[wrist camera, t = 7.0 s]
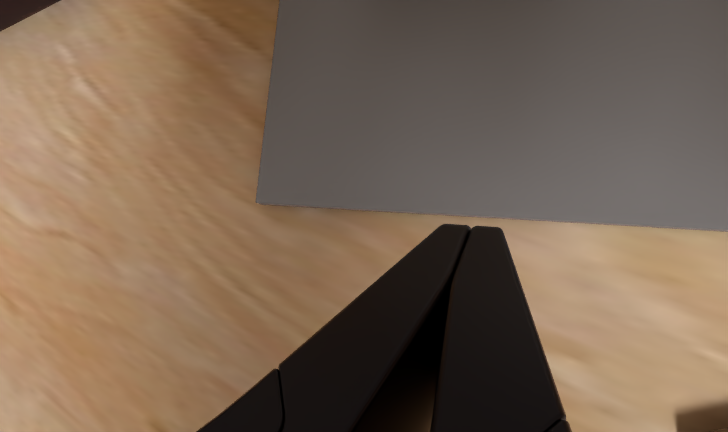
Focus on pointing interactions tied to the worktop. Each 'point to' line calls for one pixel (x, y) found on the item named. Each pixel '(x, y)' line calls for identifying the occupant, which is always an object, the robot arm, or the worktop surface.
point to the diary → (20, 10)
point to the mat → (502, 110)
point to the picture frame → (721, 430)
